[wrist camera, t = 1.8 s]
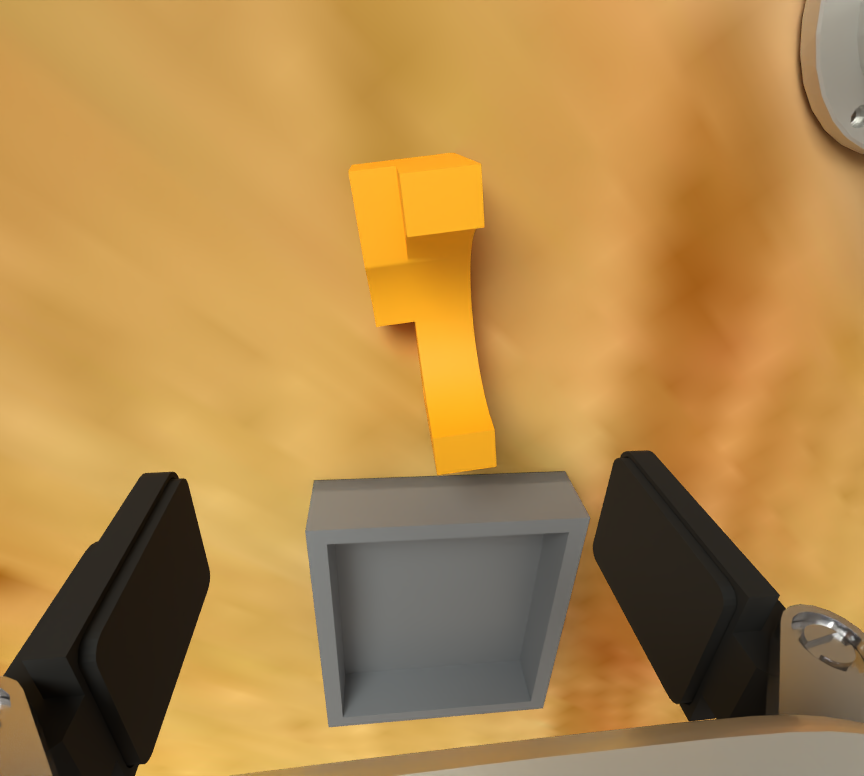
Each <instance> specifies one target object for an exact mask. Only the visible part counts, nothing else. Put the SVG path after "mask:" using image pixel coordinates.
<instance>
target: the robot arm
mask: <svg viewBox="0 0 864 776" xmlns="http://www.w3.org/2000/svg"><path fill="white" fill-rule="evenodd" d="M800 58H801V67H802V76H803V84H804V87H805V91H806V94H807V97H808V100H809V103H810V106H811V109H812V111H813V112H814V114H815V116H816V117H817V119H818V120H819V122H820V124H821V125H822V127H823V128H824V130H825V131H826V132H827V133H829V134H830V135H831V136H832V137H833V138H834V139H835V140H836V141H838V142H839V143H840V144H841V145H843V146H845V147H847V148H849V149H851V150H854V151H856V152H858V153H860V154H864V0H806V3H805V8H804V13H803V18H802V30H801V47H800ZM593 553H594V557H595V559H596V562H597V564H598V565H599V567H600V569H601V571H602V573H603V575H604V577H605V579H606V580H607V582H608V584H609V586H610V588H611V590H612V592H613V593H614V595H615V597H616V599H617V601H618V603H619V605H620V607H621V608H622V610H623V612H624V614H625V616H626V618H627V620H628V622H629V623H630V625H631V627H632V629H633V631H634V633H635V635H636V637H637V638H638V640H639V642H640V644H641V646H642V648H643V650H644V651H645V653H646V655H647V657H648V659H649V661H650V663H651V665H652V666H653V668H654V670H655V672H656V674H657V676H658V678H659V680H660V681H661V683H662V685H663V687H664V689H665V691H666V693H667V694H668V696H669V698H670V699H671V700H672V701H673V702H674V703H676V704H680V706H681V708H682V710H683V711H684V713H685V715H686V717H687V719H688V721H693V722H682V723H672V724H663V725H654V726H645V727H636V728H627V729H618V730H609V731H600V732H591V733H582V734H573V735H564V736H555V737H547V738H538V739H529V740H521V741H512V742H504V743H495V744H487V745H478V746H470V747H461V748H453V749H444V750H436V751H427V752H419V753H410V754H402V755H394V756H385V757H377V758H369V759H361V760H352V761H344V762H336V763H328V764H320V765H312V766H304V767H296V768H288V769H279V770H271V771H263V772H255V773H247V774H239V775H231V776H864V633H863V632H862V631H861V630H860V629H859V628H858V627H856V626H855V625H853V624H852V623H850V622H849V621H847V620H846V619H844V618H843V617H841V616H839V615H837V614H835V613H833V612H831V611H828V610H825V609H822V608H819V607H816V606H811V605H802V604H799V605H794V606H790V607H788V608H787V609H786V608H785V607H784V606H783V605H782V604H781V602H780V601H779V600H778V598H779V596H780V595H779V594H778V593H777V591H776V590H775V589H774V588H773V587H772V586H771V585H770V584H769V582H768V581H767V580H766V579H765V578H764V577H763V576H762V575H761V573H760V572H759V571H758V570H757V569H756V568H755V567H754V566H753V564H752V563H751V562H750V561H749V560H748V559H747V558H746V557H745V555H744V554H743V553H742V552H741V551H740V550H739V549H738V548H737V546H736V545H735V544H734V543H733V542H732V541H731V540H730V539H729V537H728V536H727V535H726V534H725V533H724V532H723V531H722V530H721V528H720V527H719V526H718V525H717V524H716V523H715V522H714V521H713V519H712V518H711V517H710V516H709V515H708V514H707V513H706V512H705V510H704V509H703V508H702V507H701V506H700V505H699V504H698V503H697V501H696V500H695V499H694V498H693V497H692V496H691V495H690V494H689V492H688V491H687V490H686V489H685V488H684V487H683V486H682V485H681V483H680V482H679V481H678V480H677V479H676V478H675V477H674V476H673V474H672V473H671V472H670V471H669V470H668V469H667V468H666V467H665V465H664V464H663V463H662V462H661V461H660V460H659V459H658V458H657V456H656V455H655V454H654V453H653V452H651V451H626V452H623V453H622V455H621V457H620V458H617V459H616V460H615V461H614V463H613V467H612V471H611V475H610V479H609V483H608V487H607V491H606V495H605V499H604V503H603V507H602V511H601V515H600V519H599V523H598V527H597V531H596V535H595V539H594V542H593ZM209 582H210V570H209V566H208V562H207V558H206V554H205V550H204V546H203V542H202V538H201V534H200V530H199V526H198V522H197V518H196V514H195V510H194V506H193V502H192V498H191V494H190V490H189V486H188V483H187V480H186V479H184V478H183V479H179V478H178V475H177V474H176V473H175V472H159V473H145V474H142V476H141V477H140V478H139V479H138V481H137V483H136V484H135V486H134V487H133V489H132V490H131V492H130V493H129V495H128V496H127V498H126V500H125V501H124V503H123V504H122V506H121V507H120V509H119V510H118V512H117V514H116V515H115V517H114V518H113V520H112V521H111V523H110V524H109V526H108V527H107V529H106V531H105V532H104V534H103V535H102V537H101V538H100V540H99V541H98V542H95V543H94V544H92V545H91V546H90V547H89V548H88V549H87V550H86V551H85V553H84V554H83V556H82V557H81V559H80V560H79V562H78V564H77V565H76V567H75V568H74V570H73V571H72V573H71V574H70V576H69V577H68V579H67V580H66V582H65V583H64V585H63V586H62V588H61V589H60V591H59V592H58V594H57V595H56V597H55V598H54V600H53V601H52V603H51V604H50V606H49V607H48V609H47V610H46V612H45V613H44V615H43V616H42V618H41V620H40V621H39V623H38V624H37V626H36V627H35V629H34V630H33V632H32V633H31V635H30V636H29V638H28V639H27V641H26V642H25V644H24V645H23V647H22V648H21V650H20V651H19V653H18V654H17V656H16V657H15V659H14V660H13V662H12V663H11V665H10V666H9V668H8V669H7V671H6V672H5V674H4V675H3V676H2V677H0V776H135V774H136V771H137V768H138V765H139V764H146V763H147V762H148V760H149V759H150V757H151V754H152V752H153V749H154V746H155V743H156V740H157V738H158V735H159V732H160V729H161V726H162V723H163V720H164V717H165V714H166V711H167V708H168V705H169V702H170V699H171V696H172V694H173V691H174V688H175V685H176V682H177V679H178V676H179V673H180V670H181V667H182V664H183V661H184V658H185V655H186V652H187V649H188V647H189V644H190V641H191V638H192V635H193V632H194V629H195V626H196V623H197V620H198V617H199V614H200V611H201V608H202V605H203V603H204V600H205V597H206V594H207V591H208V587H209ZM715 717H716V719H715V720H706V719H714V718H715ZM697 720H704V721H697Z"/></svg>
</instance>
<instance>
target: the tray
mask: <svg viewBox="0 0 864 776" xmlns="http://www.w3.org/2000/svg"><path fill="white" fill-rule="evenodd" d="M589 520H590V516H589V515H588V513H587V511H586V509H585V507H584V505H583V504H582V502H581V500H580V498H579V496H578V494H577V492H576V491H575V489H574V487H573V485H572V483H571V481H570V480H569V478H568V476H567V474H566V472H565V471H559V472H532V473H505V474H477V475H450V476H423V477H395V478H368V479H341V480H314V484H313V490H312V495H311V501H310V507H309V513H308V519H307V525H306V530H305V532H306V541H307V549H308V557H309V566H310V574H311V583H312V591H313V599H314V608H315V616H316V624H317V633H318V641H319V650H320V658H321V666H322V675H323V683H324V692H325V700H326V708H327V717H328V725H329V727H337V726H348V725H359V724H371V723H382V722H393V721H405V720H416V719H427V718H438V717H450V716H461V715H472V714H484V713H495V712H506V711H518V710H529V709H540V708H543V705H544V701H545V697H546V693H547V689H548V685H549V681H550V677H551V673H552V669H553V665H554V661H555V657H556V653H557V649H558V645H559V641H560V637H561V633H562V629H563V625H564V621H565V617H566V613H567V609H568V605H569V601H570V597H571V593H572V589H573V585H574V581H575V577H576V573H577V569H578V565H579V561H580V557H581V553H582V548H583V544H584V540H585V536H586V532H587V528H588V524H589Z"/></svg>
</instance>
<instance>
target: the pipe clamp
mask: <svg viewBox="0 0 864 776" xmlns="http://www.w3.org/2000/svg"><path fill="white" fill-rule="evenodd" d="M348 172H349V178H350V184H351V190H352V196H353V201H354V207H355V213H356V219H357V225H358V230H359V236H360V242H361V248H362V254H363V259H364V265H365V270H366V275H367V279H368V284H369V289H370V294H371V299H372V305H373V311H374V316H375V322H376V327H379V326H386V325H393V324H401V323H408V322H414V325H415V332H416V340H417V348H418V355H419V363H420V371H421V378H422V386H423V394H424V402H425V407H426V413H427V419H428V425H429V430H430V436H431V442H432V448H433V453H434V459H435V465H436V470H437V475H443V474H450V473H456V472H463V471H470V470H477V469H483V468H490V467H496V447H495V429H494V426H493V424H492V420H491V417H490V414H489V410H488V407H487V403H486V399H485V395H484V390H483V385H482V380H481V375H480V370H479V364H478V358H477V351H476V344H475V336H474V327H473V317H472V304H471V284H470V263H471V248H472V241H473V236H474V232H475V230H476V228H483V227H484V210H483V190H482V170H481V164H480V163H478V162H475V161H473V160H470V159H468V158H465V157H463V156H460V155H458V154H455V153H446V154H438V155H430V156H422V157H414V158H405V159H397V160H389V161H381V162H373V163H365V164H357V165H352V166H351V168H350V170H349V171H348Z"/></svg>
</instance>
